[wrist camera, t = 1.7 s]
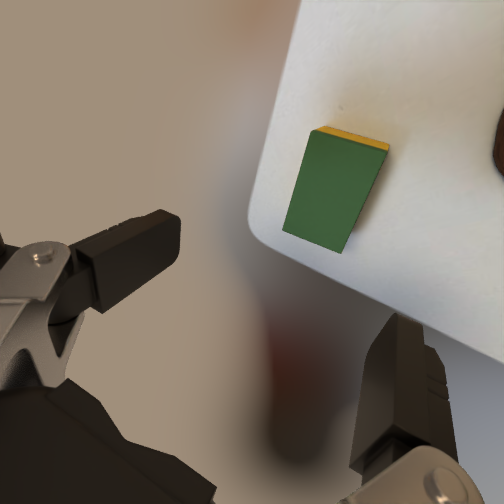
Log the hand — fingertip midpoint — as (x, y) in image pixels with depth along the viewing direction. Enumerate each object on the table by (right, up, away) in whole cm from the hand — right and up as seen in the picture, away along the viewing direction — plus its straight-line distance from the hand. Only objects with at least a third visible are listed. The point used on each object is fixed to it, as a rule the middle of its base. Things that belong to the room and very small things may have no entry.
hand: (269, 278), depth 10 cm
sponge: (+6, +6, +11) cm, 14 cm away
